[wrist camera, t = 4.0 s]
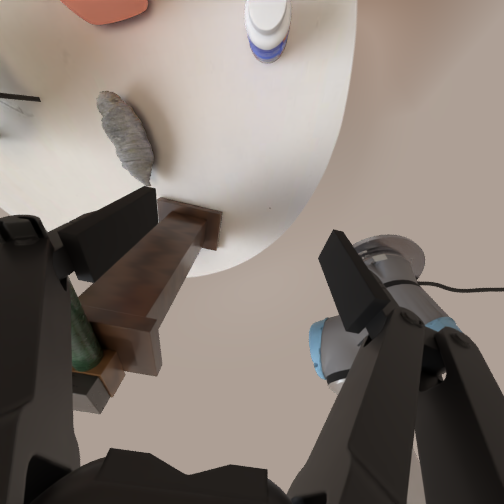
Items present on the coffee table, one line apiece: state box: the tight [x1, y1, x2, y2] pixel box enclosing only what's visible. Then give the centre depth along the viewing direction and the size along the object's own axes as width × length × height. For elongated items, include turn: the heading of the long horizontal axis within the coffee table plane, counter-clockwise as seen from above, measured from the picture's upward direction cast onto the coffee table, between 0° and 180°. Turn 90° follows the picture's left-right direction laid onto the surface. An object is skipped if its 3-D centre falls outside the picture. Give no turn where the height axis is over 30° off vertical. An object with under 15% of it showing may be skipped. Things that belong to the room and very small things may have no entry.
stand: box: [78, 198, 222, 376], centre depth 33 cm, size 14×10×30 cm
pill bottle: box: [244, 0, 292, 63], centre depth 23 cm, size 5×5×10 cm
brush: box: [46, 230, 125, 414], centre depth 16 cm, size 21×4×4 cm, turn 167°
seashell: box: [97, 91, 154, 186], centre depth 33 cm, size 6×14×8 cm, turn 8°
